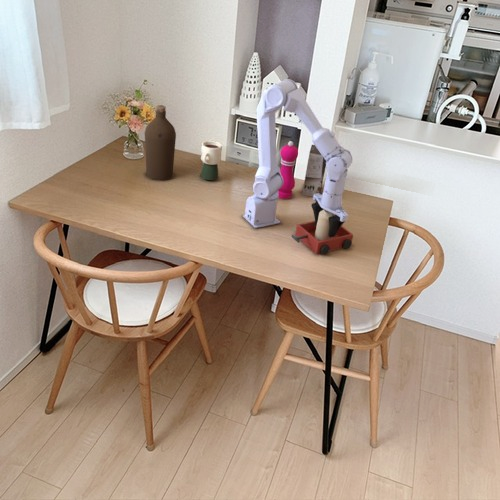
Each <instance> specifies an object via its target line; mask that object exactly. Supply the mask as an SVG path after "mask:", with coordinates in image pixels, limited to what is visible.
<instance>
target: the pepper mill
mask: <svg viewBox="0 0 500 500" xmlns="http://www.w3.org/2000/svg"><path fill="white" fill-rule="evenodd" d="M279 153H280V157H281V158H280V163H281V167H280V173H281V176H282V178H283V185H282V187H281V188H280V189H279V190H278V199H282V200H288V199H291V198H292V196H293V190H294V189H295V187H296V180H295V177H294V166H295V165H296V159H297V158H298V156H299V150H298V147H296V146H295V145H294V142H293V141H291V140H289V141H288V143H287V144H286V145H285V144H284V146H283V147H281V150H280V151H279Z"/></svg>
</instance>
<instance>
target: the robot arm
mask: <svg viewBox="0 0 500 500" xmlns="http://www.w3.org/2000/svg"><path fill="white" fill-rule="evenodd" d="M281 109H282V111H284V112H288V113H292V114H293V113H294V114H295V115H296V116H297V117H298V119H299V120H300V122H302V124H303V125H304V126H305V127H306V129H307V130H308V131H309V133H310V134H311V135H312V136H311V137H312V139H311V142H312V143H313V145H315V146H316V148H317V149H318V150H319V152H320V153H321V155H322V156H323V157H324V159H325V160H326V161H327V162H326V168H325V169H326V171H327V173H326V176H325V181H324V187H323V190H322V194H321V193H320V194H319V193H317V194H314V195H313V197H312V200H313V201H314V202H313V203H311V210H312V211H313V218H314V221H315V226H317V222H318V217H319V212H320V211H322V210H327V211H329V212H331V213H333V214H334V216H332V217H328V219H329V233H328V236H329V237H335V235H336V233H337V231H338V230H339V228H340V227H341V226H343V225H344V223H346V222H347V221H348V219H349V214H347V212H346V211H345V209H344V208H343V202H342V199H343V195H344V191H345V187H346V183H347V182H346V181H347V176H348V172H349V171H348V168H350V166H351V165H352V164H353V155H352V153H351V151H349V149H346V148H345V147H344V146H342V145H341V143H340V142H339V141H338V140H337V138H336V137H335V135H336V133H335V132H334V131H333V130H331V129H330V128H327V127H323V125H322V124H321V122H320V121H319V119H318V118H317V117H316V115H315V113H314V112H313V109H312V108H311V106H310V104H308V101H306V99H305V96H304V93H303V91H302V90H301V89H300V88H299V87H298V85H297V83H296V82H295V81H294V80H293V79H290V78H286V79H282V80H281V81H279V82H277V83H275V84H271V85H270V86H268V87H267V88H266V89H265V90H264V91H262V96H261V98H260V100H259V102H258V104H257V106H256V126H257V127H256V128H257V149H258V168H257V170H256V172H255V175H254V183H253V185H252V191H253V195H251V196H248V197H247V198H246V201H245V209H244V210H245V211H244V214H243V215H242V217H243V218H244V219H245V220H246V221H247V222H248V223H249V224H250V225H251V226H253V228H254V229H258V228H263V227H268V226H273V225H278V224H280V223H281V221H280V220H279V219H278V218H277V217H276V214H277V208H278V202H279V201H278V200H279V198H278V190H279V189H280V188H281V187H282V185H283V178H282V176H281V173H280V170H281V167H280V166H279V165H278V159H277V158H278V157H277V126H276V125H277V124H276V114H277V113H278V111H280V110H281Z"/></svg>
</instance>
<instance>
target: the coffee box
mask: <svg viewBox="0 0 500 500" xmlns="http://www.w3.org/2000/svg"><path fill="white" fill-rule="evenodd" d="M326 162H327V161H326V160H325V159H324V157H323V156H322V155H321V153H320V152H319V150H318V149H317V148H316V146H315V145H314V144H311V146H310V150H309V153H308V160H307V165H306V170H305V176H304V181H303V187H302V192H301V194H302V195H301V196H307V197H312V198H313V195H314V194H317V193H319V194H321V191H322V188H323V183H324V179H325V178H324V177H325V172H326V169H327V168H326Z"/></svg>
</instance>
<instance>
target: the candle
mask: <svg viewBox="0 0 500 500" xmlns="http://www.w3.org/2000/svg"><path fill="white" fill-rule="evenodd" d="M332 216H334V214H333V213H331V212H329V211H327V210H322V211H320V212H319V217H318V222H317V227H316V232H315V238H316V239H317V240H318V241H323V240H328V239H332V238H333V237H329V236H328V233H329V219H328V217H332Z"/></svg>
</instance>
